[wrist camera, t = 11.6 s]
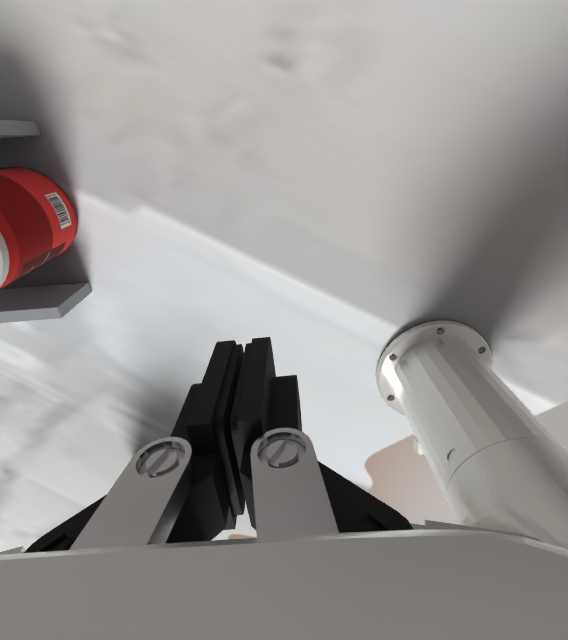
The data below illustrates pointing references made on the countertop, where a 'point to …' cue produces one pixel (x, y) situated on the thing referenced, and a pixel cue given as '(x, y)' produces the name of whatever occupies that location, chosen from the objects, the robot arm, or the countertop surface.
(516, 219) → the countertop surface
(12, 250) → the canned food
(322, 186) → the countertop surface
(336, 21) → the countertop surface
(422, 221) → the countertop surface
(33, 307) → the box
